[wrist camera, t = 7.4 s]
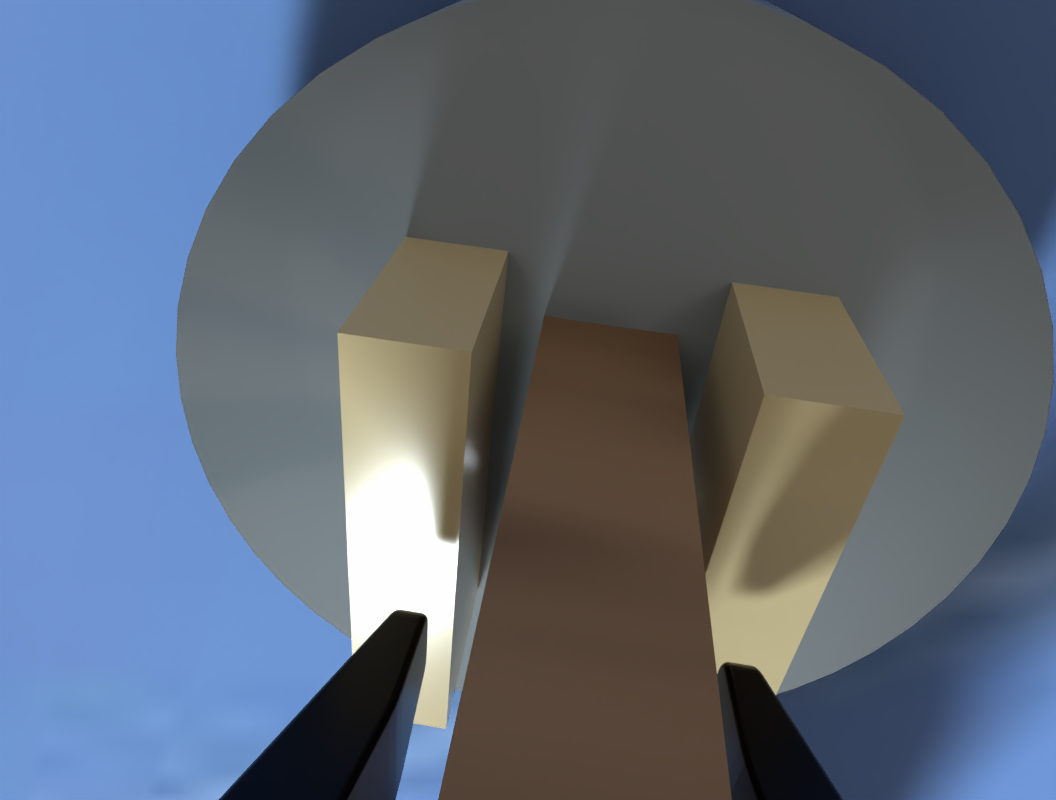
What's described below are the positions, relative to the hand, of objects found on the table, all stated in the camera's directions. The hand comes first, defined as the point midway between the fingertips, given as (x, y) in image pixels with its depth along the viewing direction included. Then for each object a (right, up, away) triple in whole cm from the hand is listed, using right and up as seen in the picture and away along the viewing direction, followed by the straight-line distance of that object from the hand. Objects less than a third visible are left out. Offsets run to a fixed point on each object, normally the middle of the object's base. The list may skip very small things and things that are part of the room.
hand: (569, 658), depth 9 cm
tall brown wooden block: (0, +2, +3) cm, 4 cm away
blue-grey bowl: (+1, +4, +7) cm, 8 cm away
